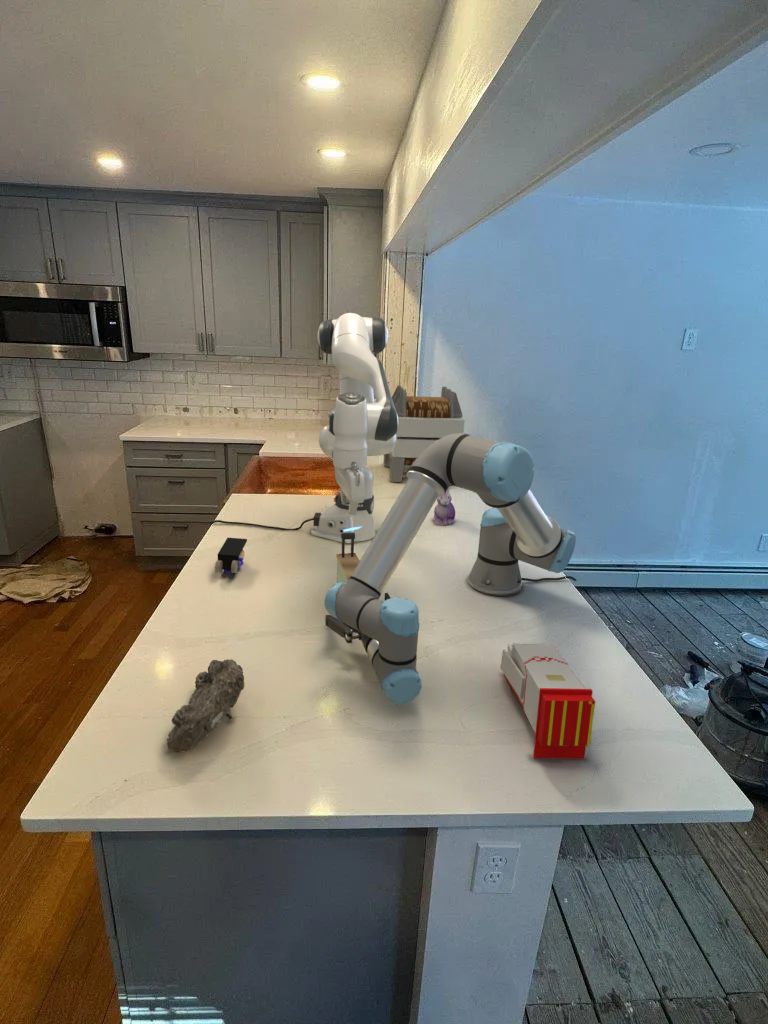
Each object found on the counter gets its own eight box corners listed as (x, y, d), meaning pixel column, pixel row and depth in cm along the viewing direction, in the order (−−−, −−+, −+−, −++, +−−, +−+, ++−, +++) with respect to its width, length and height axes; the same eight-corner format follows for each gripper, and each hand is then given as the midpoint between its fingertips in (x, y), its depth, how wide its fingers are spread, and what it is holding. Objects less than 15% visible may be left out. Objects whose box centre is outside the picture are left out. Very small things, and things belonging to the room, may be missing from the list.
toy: (549, 626, 126) (605, 697, 97) (544, 681, 129) (596, 766, 100) (495, 625, 126) (534, 696, 96) (491, 680, 128) (528, 765, 99)
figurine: (440, 527, 207) (443, 488, 202) (426, 518, 215) (428, 480, 210) (462, 524, 211) (465, 485, 206) (446, 515, 220) (450, 478, 215)
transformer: (382, 463, 289) (386, 382, 275) (445, 464, 293) (451, 384, 279) (390, 482, 257) (394, 392, 243) (460, 483, 261) (468, 394, 247)
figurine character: (238, 584, 162) (249, 557, 175) (236, 562, 158) (247, 536, 172) (215, 584, 161) (227, 556, 175) (212, 561, 158) (225, 535, 171)
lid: (336, 557, 158) (336, 530, 155) (355, 555, 160) (355, 529, 157) (347, 581, 144) (348, 552, 142) (368, 580, 146) (369, 551, 143)
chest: (336, 586, 161) (336, 558, 158) (354, 584, 162) (355, 557, 159) (347, 612, 147) (347, 581, 144) (367, 609, 149) (368, 580, 146)
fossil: (192, 660, 117) (244, 628, 112) (224, 691, 120) (276, 661, 115) (142, 746, 98) (202, 712, 93) (182, 779, 101) (242, 748, 96)
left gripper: (371, 468, 138) (369, 521, 143) (353, 448, 157) (352, 496, 161) (346, 469, 137) (345, 522, 141) (330, 449, 155) (330, 497, 160)
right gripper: (325, 669, 120) (309, 618, 139) (435, 654, 127) (406, 608, 146) (326, 639, 118) (309, 591, 137) (438, 625, 124) (407, 582, 144)
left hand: (348, 508), depth 152 cm, fingers open, 8 cm apart
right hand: (359, 600), depth 141 cm, fingers open, 13 cm apart
